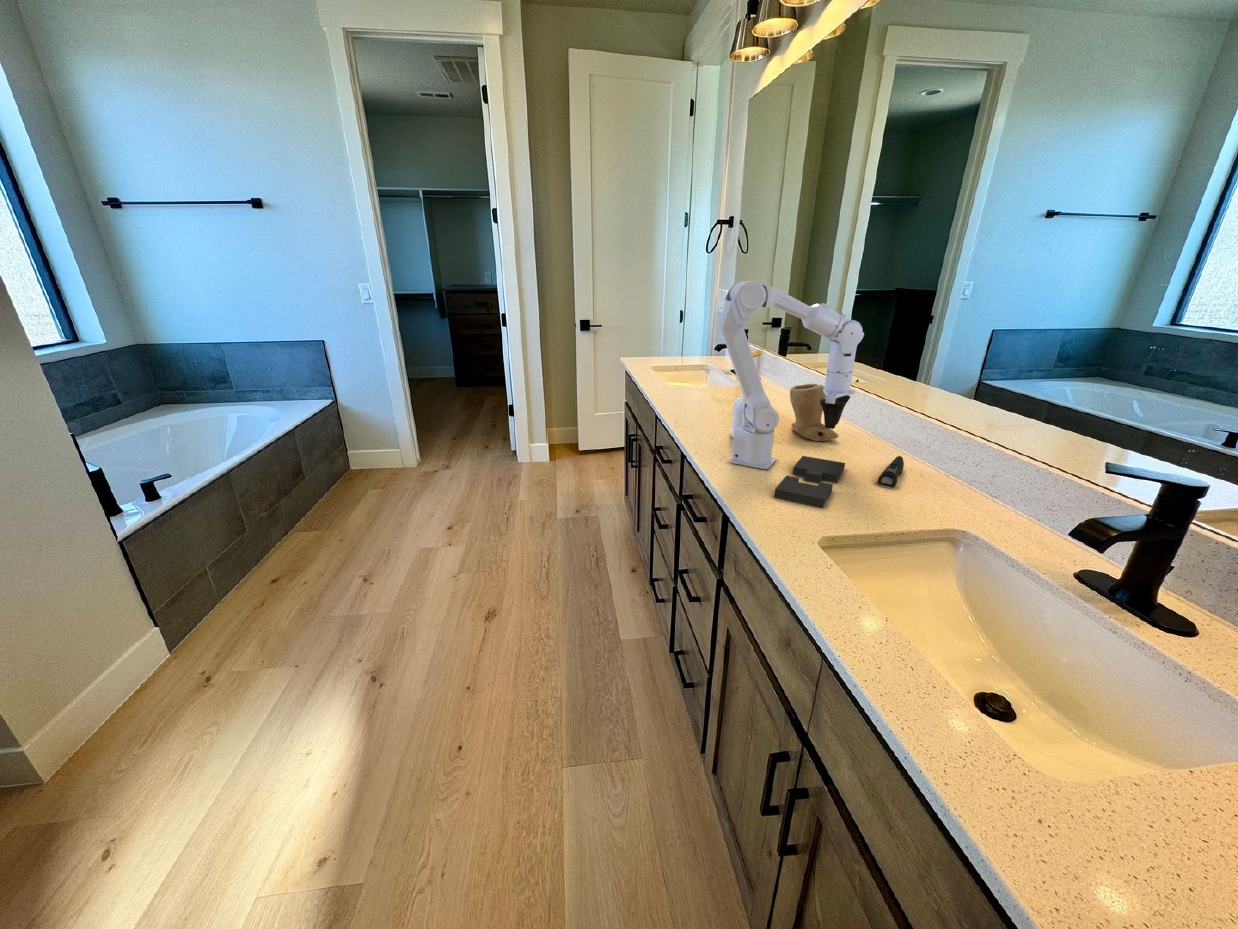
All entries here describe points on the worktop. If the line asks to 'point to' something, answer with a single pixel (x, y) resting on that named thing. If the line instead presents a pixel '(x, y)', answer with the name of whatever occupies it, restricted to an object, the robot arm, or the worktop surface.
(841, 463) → the pad
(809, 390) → the brown boot
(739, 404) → the soap bottle
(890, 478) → the electric trimmer
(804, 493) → the notch pad
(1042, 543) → the worktop surface
